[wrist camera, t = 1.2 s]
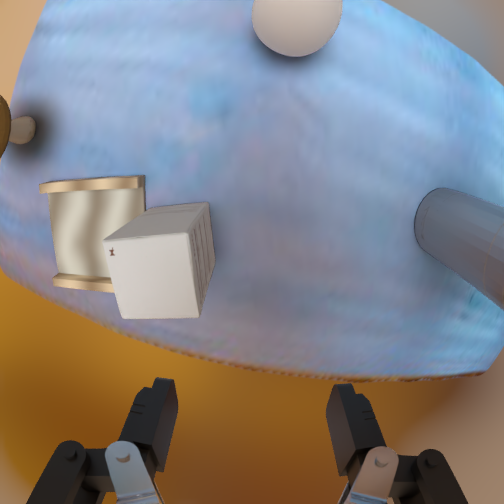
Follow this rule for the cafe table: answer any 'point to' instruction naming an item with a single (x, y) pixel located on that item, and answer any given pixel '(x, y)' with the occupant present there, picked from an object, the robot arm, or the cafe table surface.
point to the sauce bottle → (296, 24)
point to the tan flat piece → (89, 225)
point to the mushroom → (14, 127)
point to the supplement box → (162, 262)
